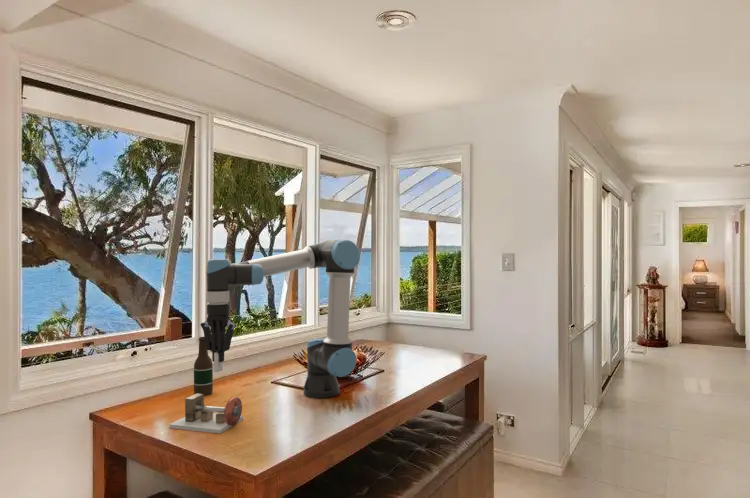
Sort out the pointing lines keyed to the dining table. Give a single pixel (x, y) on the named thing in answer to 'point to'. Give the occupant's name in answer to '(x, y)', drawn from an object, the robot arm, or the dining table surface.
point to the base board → (202, 425)
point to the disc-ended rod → (226, 410)
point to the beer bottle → (203, 370)
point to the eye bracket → (194, 415)
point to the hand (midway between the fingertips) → (218, 371)
